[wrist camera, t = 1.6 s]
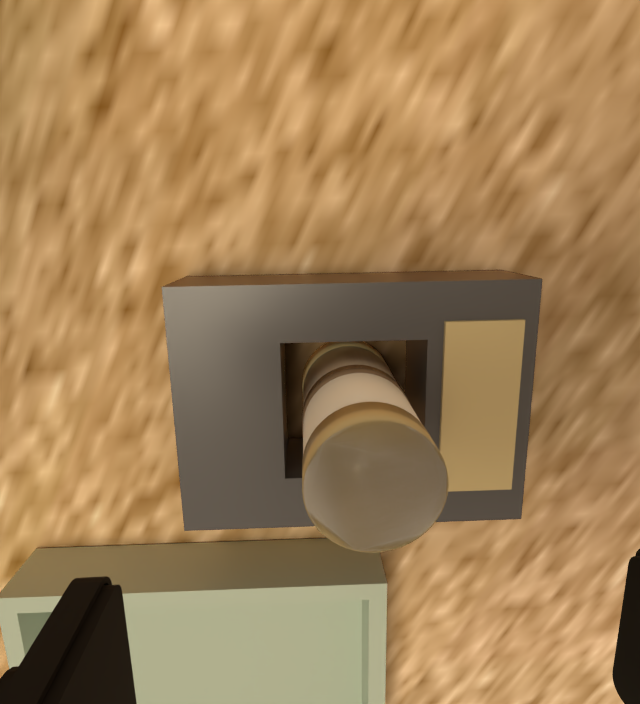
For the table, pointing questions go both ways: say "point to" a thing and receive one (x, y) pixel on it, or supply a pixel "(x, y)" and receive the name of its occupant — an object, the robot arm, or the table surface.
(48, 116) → the table surface
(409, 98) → the table surface
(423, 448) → the fuse
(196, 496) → the fuse block
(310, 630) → the parts tray
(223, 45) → the table surface
